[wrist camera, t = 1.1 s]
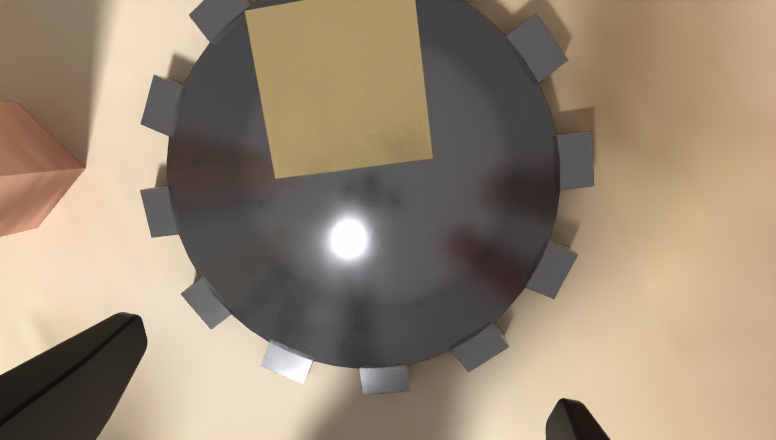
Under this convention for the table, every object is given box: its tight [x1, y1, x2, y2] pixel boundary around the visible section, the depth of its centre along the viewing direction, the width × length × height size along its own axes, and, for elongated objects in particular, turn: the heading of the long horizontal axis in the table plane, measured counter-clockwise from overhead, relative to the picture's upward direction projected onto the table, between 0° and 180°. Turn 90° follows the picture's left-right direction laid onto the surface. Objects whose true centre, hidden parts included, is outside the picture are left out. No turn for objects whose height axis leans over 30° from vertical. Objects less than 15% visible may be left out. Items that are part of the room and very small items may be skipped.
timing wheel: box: [140, 0, 594, 394], centre depth 22 cm, size 23×23×1 cm
